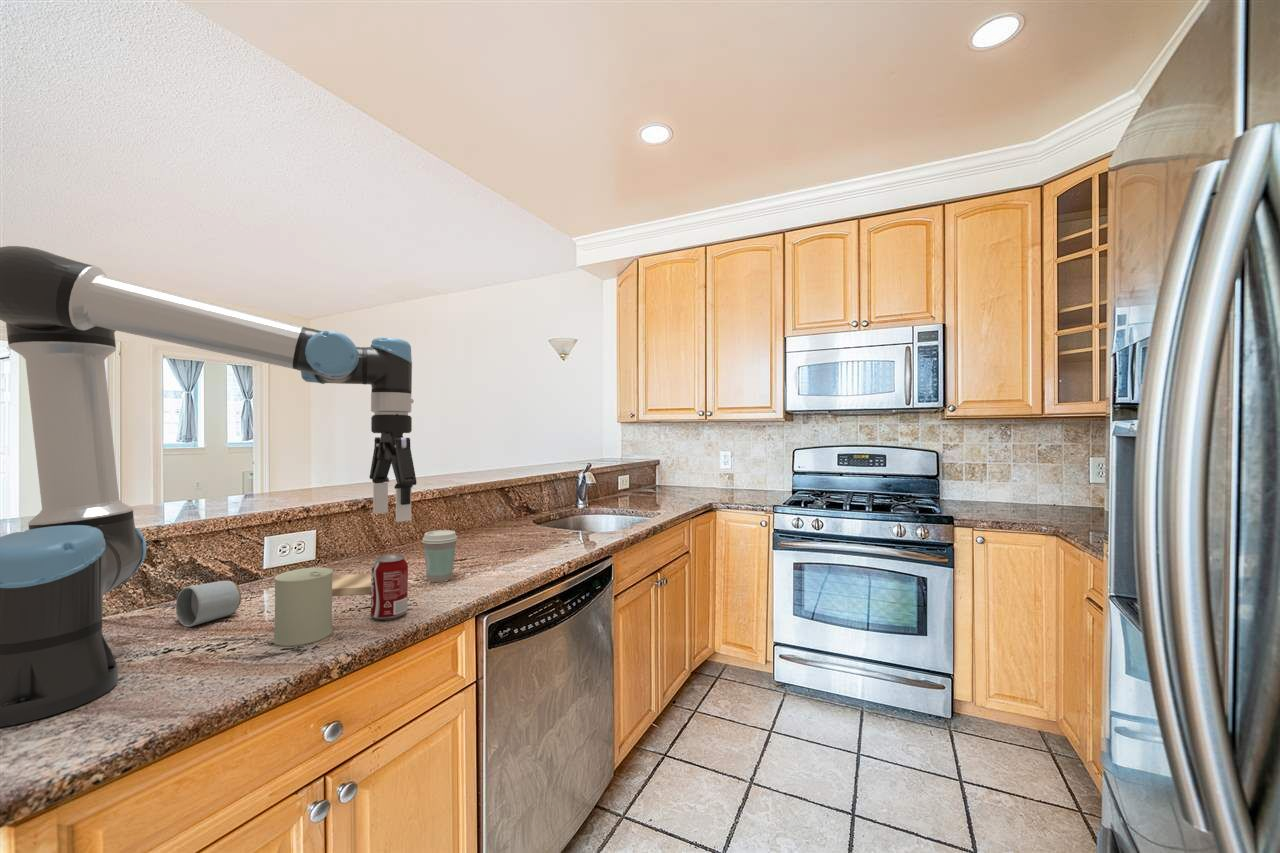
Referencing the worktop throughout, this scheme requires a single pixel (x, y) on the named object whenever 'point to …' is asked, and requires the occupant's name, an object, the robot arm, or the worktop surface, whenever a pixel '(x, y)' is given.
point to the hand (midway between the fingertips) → (391, 517)
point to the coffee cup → (439, 554)
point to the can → (303, 606)
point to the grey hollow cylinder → (207, 602)
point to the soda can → (389, 587)
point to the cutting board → (351, 584)
